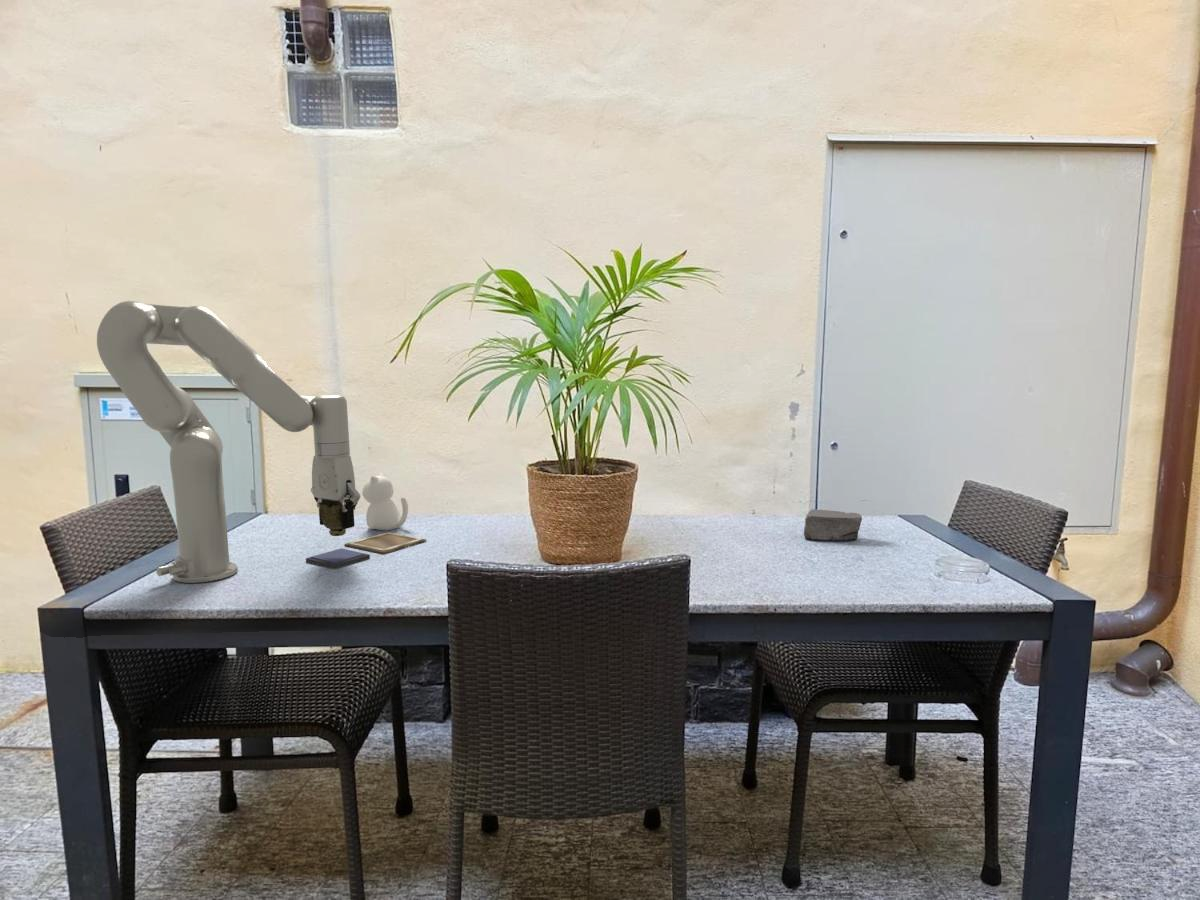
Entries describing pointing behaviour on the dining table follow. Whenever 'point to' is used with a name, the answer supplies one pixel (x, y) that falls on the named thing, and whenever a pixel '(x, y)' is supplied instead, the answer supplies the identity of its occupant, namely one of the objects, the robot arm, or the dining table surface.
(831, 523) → the decorative stone
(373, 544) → the marked board
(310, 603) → the dining table surface
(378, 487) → the cat figurine
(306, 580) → the dining table surface
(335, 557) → the ink pad
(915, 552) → the dining table surface
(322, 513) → the cup
